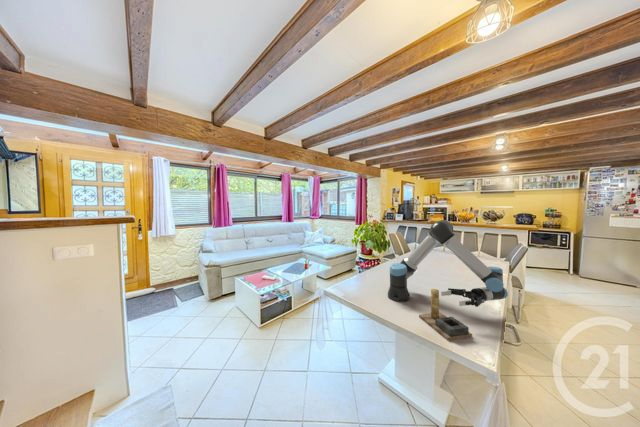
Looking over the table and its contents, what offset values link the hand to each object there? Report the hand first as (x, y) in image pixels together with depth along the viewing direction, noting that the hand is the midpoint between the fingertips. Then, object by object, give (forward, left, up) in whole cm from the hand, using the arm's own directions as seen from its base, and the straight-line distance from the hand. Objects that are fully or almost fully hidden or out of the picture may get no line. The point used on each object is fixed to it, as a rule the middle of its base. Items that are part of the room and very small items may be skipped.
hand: (449, 298), depth 122 cm
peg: (0, -10, -10) cm, 14 cm away
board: (+6, -10, -12) cm, 17 cm away
